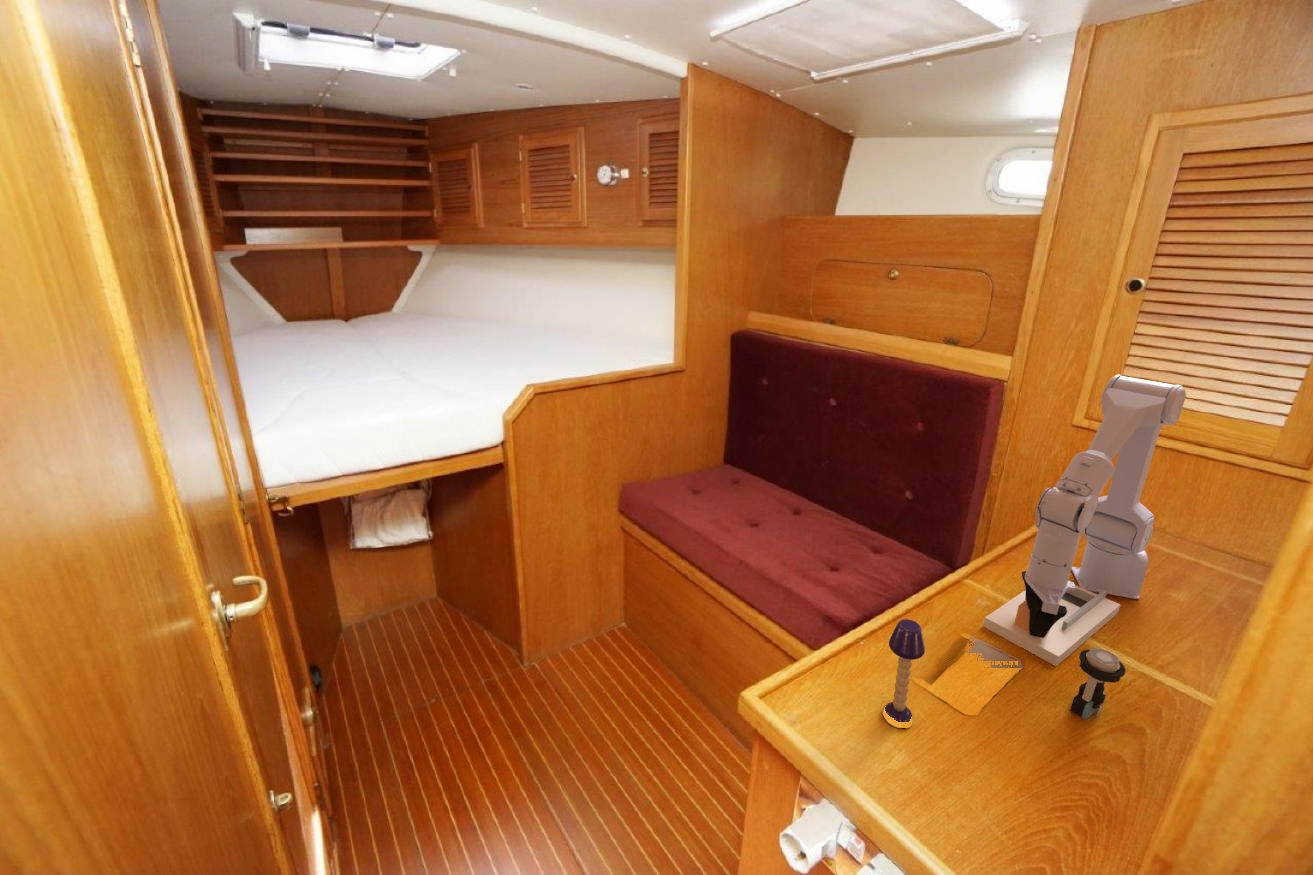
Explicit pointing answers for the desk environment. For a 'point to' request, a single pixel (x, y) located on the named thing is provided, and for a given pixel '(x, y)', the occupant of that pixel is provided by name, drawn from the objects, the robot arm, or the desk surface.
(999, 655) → the grooming comb
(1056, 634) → the trough
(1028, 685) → the desk surface
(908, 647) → the toy lamp
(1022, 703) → the desk surface
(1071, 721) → the desk surface
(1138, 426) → the robot arm
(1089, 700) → the push button
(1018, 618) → the block
